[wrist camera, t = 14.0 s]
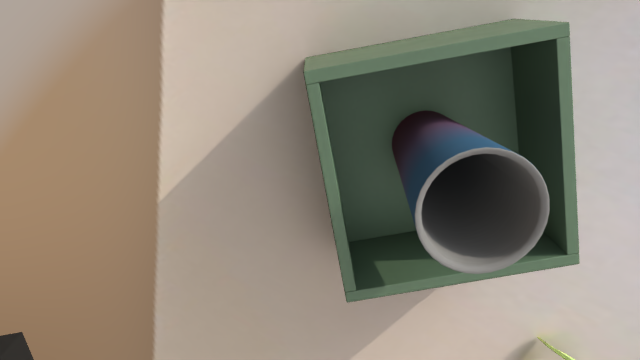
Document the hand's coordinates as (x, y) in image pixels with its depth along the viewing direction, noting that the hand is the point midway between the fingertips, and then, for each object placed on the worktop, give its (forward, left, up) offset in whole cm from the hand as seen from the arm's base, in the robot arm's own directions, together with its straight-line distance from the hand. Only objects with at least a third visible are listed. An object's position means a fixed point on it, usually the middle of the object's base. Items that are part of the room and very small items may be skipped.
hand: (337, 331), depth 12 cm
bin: (+5, +7, -32) cm, 33 cm away
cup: (+5, +7, -31) cm, 32 cm away
